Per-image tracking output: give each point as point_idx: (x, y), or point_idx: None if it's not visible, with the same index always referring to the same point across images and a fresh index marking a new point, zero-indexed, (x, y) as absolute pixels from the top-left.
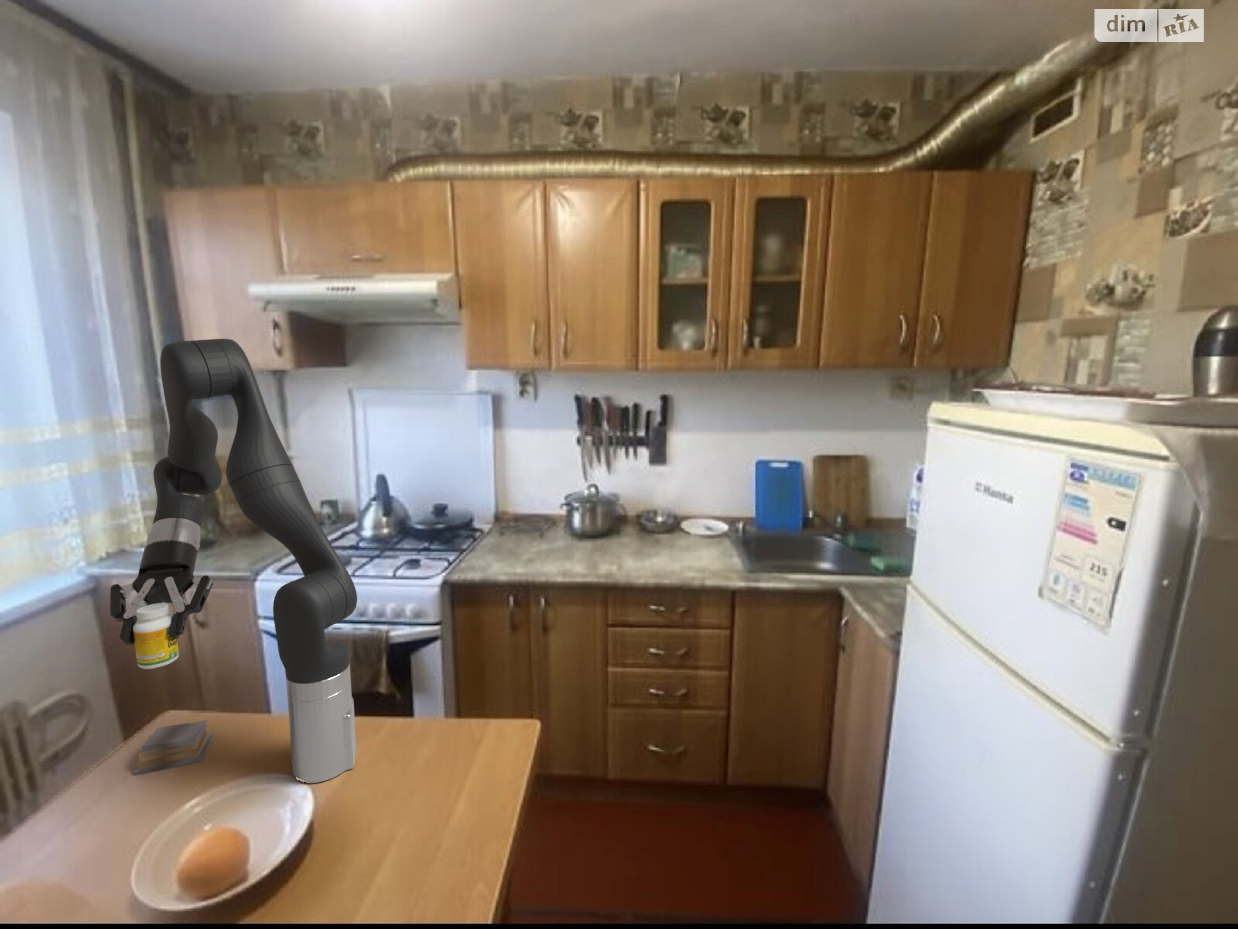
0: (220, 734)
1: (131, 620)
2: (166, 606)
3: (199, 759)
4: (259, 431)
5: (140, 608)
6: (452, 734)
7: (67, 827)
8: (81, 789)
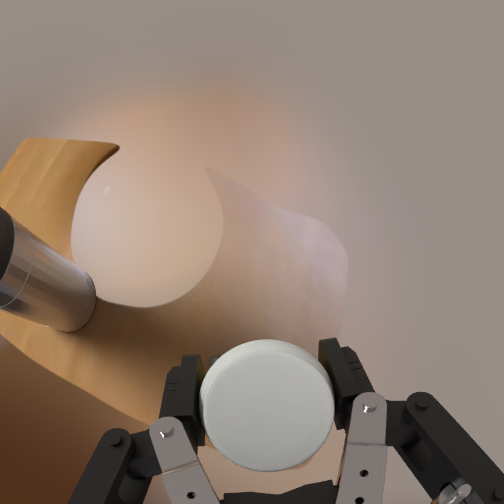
0: None
1: (345, 389)
2: (205, 414)
3: (211, 357)
4: None
5: (327, 415)
6: None
7: (310, 266)
8: (338, 334)
